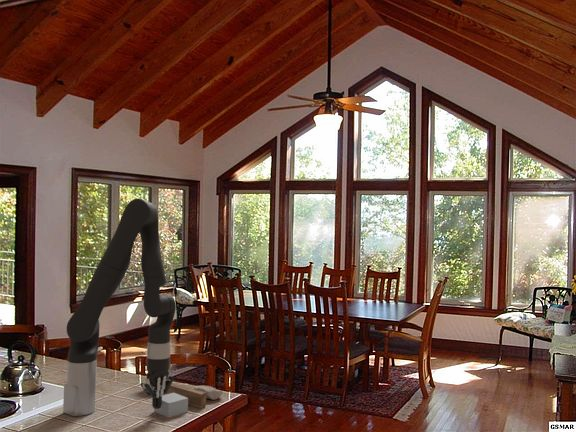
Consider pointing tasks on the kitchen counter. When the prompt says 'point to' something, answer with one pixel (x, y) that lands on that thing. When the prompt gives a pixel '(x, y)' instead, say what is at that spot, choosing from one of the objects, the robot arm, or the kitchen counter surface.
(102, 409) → the kitchen counter surface
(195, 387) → the fossil
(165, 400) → the block
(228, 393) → the kitchen counter surface
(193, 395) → the board
